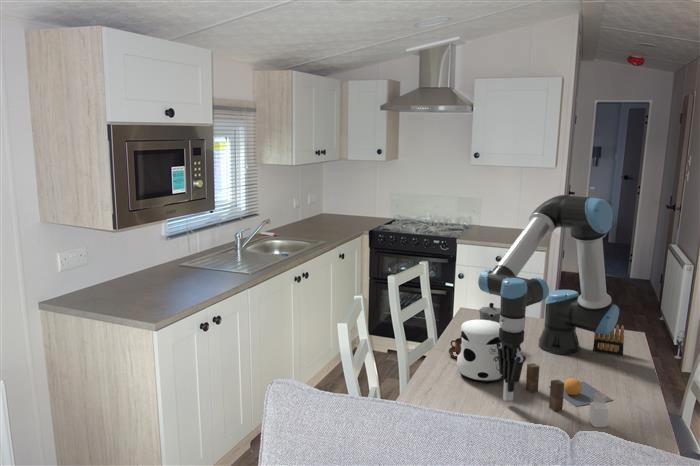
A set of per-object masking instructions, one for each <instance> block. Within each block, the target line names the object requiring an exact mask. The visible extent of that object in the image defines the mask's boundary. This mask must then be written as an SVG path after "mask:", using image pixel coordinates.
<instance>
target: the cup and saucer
mask: <svg viewBox="0 0 700 466" xmlns="http://www.w3.org/2000/svg"><path fill="white" fill-rule="evenodd" d="M453 343H454V345H453ZM460 345H461V337H457V338H456V339H455V340H451V341H450V346H451V347H450V348H449V349H448V353H449V355H450V356H451V357H453V358H454V359H457V356H454V355H453V352H456V354H457V355H458V354H459V351H460Z"/></svg>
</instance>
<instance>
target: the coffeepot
mask: <svg viewBox="0 0 700 466" xmlns="http://www.w3.org/2000/svg"><path fill="white" fill-rule="evenodd" d="M494 304H495V303H493V302H490V303H489V305H488V306H483V307H481V308H479V309H478V310H479V311H478V312H479V318H480V319H479V320H490V321H494V322H498V323H500V321H499V320H500V307H497V306H496V307H495V305H494Z"/></svg>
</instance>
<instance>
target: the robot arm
mask: <svg viewBox="0 0 700 466" xmlns="http://www.w3.org/2000/svg"><path fill="white" fill-rule="evenodd" d="M613 218H614V214H613V210H612V206H611V204H610V203H609V202H608V201H607V200H606V199H603V198H597V197H594V196H592V197H588V196H577V195H576V196H575V195H568V194H560V195H556V196H553V197H551V198H549V199H548V200H545V201H544V202H543V203H541V204H540V205H539V206H538V207H536V208H535V210H533V212H531V214H530V216H529V219H528V223H527V224H526V225H525V227H524V228H523V229H522V231H521V233H519V235H518V236H517V238H516V239H515V241H513V243H512V244H511V246H510V247H509V248H508V250H507V251H506V252H505V254H504V255H503V256H502V258H501V259H500V260H499V261H498V263H497V264H496V265H495V267H493V269H492V270H491V269H489V270H488V269H485V270H484V271H481V273H480V275H478V279H477V280H478V281H477V285H478V288H479V289H480V291H481V292H485V293H487V294H489V295H494V296H497V297H500V305H499V306H500V307H499V308H500V320H499V321H500V325H499V326H500V328H499V340H500V341H501V343H497V344H496V345H497V349H498V359H499V372H500V374H501V375H503V376H502V377H503V378H502V379H503V392H502V399H503V401H505V402H508V401H513V400H514V391H515V383H519V382H520V379H521V375H522V371H523V368H524V367H523V366H524V363H525V361H526V356H525V355H522V354H521V352H522V350H521V349H522V348H521V344H523V343H524V341H525V329H526V311H527V309H526V308H527V307H529V306H532V305H535V304H537V303H540V302H542V301H544V300H545V310H544V311H545V312H544V326H543V329H542V332H541V335H540V336H539V339H538V347H539V348H540V349H542V350H543V351H545V352H548V353H552V354H557V355H573V354H576V353H578V352H579V351H580V342H579V339H578V336H577V330H576V329H579V330H584V331H588V332H591V333H594V334H595V333H599V335H600V334H604V336H605V335H607V334H609V335H610V332H611V331H612V330H613V329H614V330H615V328H616V326H617V322H618V321H619V320H618V319H619V316H620V308H619V306H618V305H616V304H613V301H612V297H611V295H609V294H608V293H607V284H606V281H607V280H606V271H605V270H606V269H605V254H604V244H603V243H604V242H603V238H605V237H606V235H607V234H608V232H609V231H610V230H611V228H612V226H613V221H614V220H613ZM559 228H564V229H570V235H571V236H570V237H571V238H572V239H573V240H575V242H576V250H577V251H576V253H577V264H578V271H579V272H578V274H579V276H578V277H579V285H580V294H579V292H578V291H577V290H572V289H556V290H551V291H550V287H549V285H548V283H547V282H546V280H544V279H542V278H541V277H532V278H525V277H519V276H518V275H519V274H520V272H521V271H522V270H523V268H524V267H525V266H526V264H527V263H528V261H529V260H530V258H532V257H533V255H534V253H535V252H536V250H538V248H539V246H540V245H541V244H542V242H544V240H545V238H546V237H547V236H548V235H550V234H553V232H554V231H555V230H556V229H559Z"/></svg>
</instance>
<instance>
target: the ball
mask: <svg viewBox="0 0 700 466" xmlns="http://www.w3.org/2000/svg"><path fill="white" fill-rule="evenodd" d="M580 382H581V381H580V380H578V379H576V378H572V377H570V378H568V379H566V380H565V381H564V382H563V383H564V389H565V391H566V392H567V393H568V394H569V395H573V396H575V395H578V394H579V393H580V392H581V390H582V385H581V383H580Z"/></svg>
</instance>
